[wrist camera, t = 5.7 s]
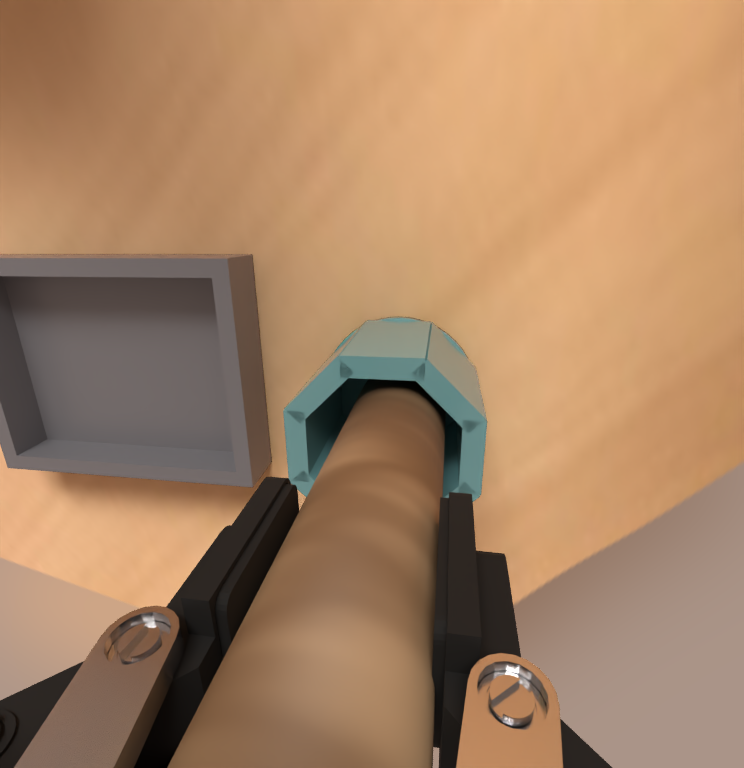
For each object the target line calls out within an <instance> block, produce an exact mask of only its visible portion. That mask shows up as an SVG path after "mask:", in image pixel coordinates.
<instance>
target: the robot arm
mask: <svg viewBox="0 0 744 768" xmlns="http://www.w3.org/2000/svg"><path fill="white" fill-rule="evenodd" d="M298 513H299V504H298V492H297V487H296V485H292V484H291V482H290V480H289V479H288V478H277V477H266V478H265V479H264V480H263V482H262V483H261V485H260V486H259V488H258V489H257V490H256V492H255V493H254V495H253V496H252V497H251V499H250V500H249V502H248V503H247V504H246V506H245V507H244V509H243V510H242V512H241V513H240V514H239V516H238V517H237V519H236V520H235V521H234V523H233V524H232V526H230V525H229V526H227V527H225V528H224V529H223V530H222V531H221V533H220V534H219V535H218V537H217V538H216V539H215V541H214V542H213V544H212V545H211V546H210V548H209V549H208V550H207V552H206V553H205V555H204V556H203V557H202V559H201V560H200V561H199V563H198V564H197V566H196V567H195V568H194V570H193V571H192V572H191V574H190V575H189V577H188V578H187V579H186V581H185V582H184V583H183V585H182V586H181V588H180V589H179V590H178V592H177V593H176V594H175V596H174V597H173V599H172V600H171V601H170V603H169V604H168V605H167V607H161V606H150V607H143V608H140V609H137V610H134V611H132V612H130V613H128V614H126V615H124V616H122V617H121V618H119V619H118V620H117V621H115V622H114V623H113V624H112V625H110V626H109V627H108V628H107V629H106V631H105V632H104V633H103V634H102V635H101V637H100V638H99V640H98V641H97V643H96V644H95V646H94V647H93V649H92V650H91V652H90V653H89V655H88V656H87V658H86V660H85V661H84V662H81V663H79V664H77V665H75V666H73V667H71V668H69V669H66V670H64V671H62V672H60V673H58V674H56V675H54V676H52V677H49V678H47V679H45V680H43V681H41V682H39V683H37V684H34V685H32V686H30V687H28V688H26V689H24V690H22V691H20V692H17V693H15V694H13V695H11V696H9V697H7V698H5V699H3V700H1V701H0V768H167V767H168V765H169V763H170V761H171V759H172V757H173V756H174V754H175V752H176V750H177V748H178V746H179V744H180V742H181V740H182V738H183V736H184V734H185V732H186V730H187V728H188V726H189V724H190V723H191V721H192V719H193V717H194V715H195V713H196V711H197V709H198V707H199V705H200V703H201V701H202V699H203V697H204V695H205V693H206V691H207V690H208V688H209V686H210V684H211V682H212V680H213V678H214V676H215V674H216V672H217V670H218V668H219V666H220V664H221V662H222V660H223V658H224V657H225V655H226V653H227V651H228V649H229V647H230V645H231V643H232V641H233V639H234V637H235V635H236V633H237V631H238V629H239V627H240V625H241V624H242V622H243V620H244V618H245V616H246V614H247V612H248V610H249V608H250V606H251V604H252V602H253V600H254V598H255V596H256V594H257V592H258V591H259V589H260V587H261V585H262V583H263V581H264V579H265V577H266V575H267V573H268V571H269V569H270V567H271V565H272V563H273V561H274V560H275V558H276V556H277V554H278V552H279V550H280V548H281V546H282V544H283V542H284V540H285V538H286V536H287V534H288V532H289V530H290V528H291V527H292V525H293V523H294V521H295V519H296V517H297V515H298ZM432 678H433V682H434V687H435V712H434V739H433V747H437V748H439V768H612V767H611V766H610V765H609V764H608V763H607V762H606V761H604V759H602V758H601V757H600V756H599V755H598V754H597V753H596V752H595V751H594V750H593V749H592V748H591V747H590V746H589V745H588V744H586V743H585V742H584V741H583V740H582V739H581V738H580V737H579V736H578V735H577V734H576V733H575V732H574V731H573V730H572V729H571V728H569V727H568V726H567V725H566V724H565V723H564V722H563V721H562V720H561V719H560V708H559V702H558V698H557V693H556V691H555V689H554V687H553V686H552V684H551V682H550V680H549V679H548V678H547V677H546V675H544V673H543V672H542V671H541V670H540V669H539V668H538V667H536V666H535V665H533V664H532V663H531V662H529V661H528V660H526V659H523V658H521V654H520V648H519V641H518V634H517V628H516V621H515V615H514V608H513V602H512V595H511V588H510V582H509V575H508V569H507V562H506V557H505V555H504V554H502V553H492V552H482V551H476V547H475V532H474V516H473V501H472V494H468V493H456V492H449V498H444V497H440V511H439V532H438V553H437V575H436V596H435V617H434V639H433V660H432Z"/></svg>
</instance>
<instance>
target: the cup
mask: <svg viewBox="0 0 744 768" xmlns="http://www.w3.org/2000/svg"><path fill="white" fill-rule="evenodd" d="M368 379H382V380H406V381H416V382H417V383H418V384H419V385H420V386H421V387H422V388H423V389H424V390H425V391H426V392H427V393H428V394H429V395H430V396H431V397H432V398H433V399H434V400H435V401H436V402H437V403H438V404H439V405H440V406H441V407H442V408H443V409H444V410H445V411H446V418H445V445H444V471H443V497H444V498H449V492H456V493H468V494H472V501H475V500H476V499H477V498H479V497H480V495H481V488H482V476H483V464H484V452H485V440H486V428H487V419H486V414H485V409H484V405H483V400H482V395H481V390H480V385H479V381H478V376H477V371H476V367H475V366H474V365H473V364H472V363H471V362H470V361H469V360H468V357H467V356H466V354H465V352H464V351H463V349H462V348H461V347H460V346H459V344H458V343H457V342H456V341H455V340H454V339H453V338H452V337H451V336H450V335H449V334H447V333H446V332H444V331H443V330H442V329H440V328H438V327H436V326H435V325H434V323H433V322H432V323H431V322H425V321H422V320H419V319H415V318H410V317H388V318H382V319H378V320H368V321H366V322H365V323H364V324H363V325H362V326H361V327H359V328H358V329H356V330H355V331H353V332H352V333H351V334H350V335H348V336H347V337H346V338H345V339H344V340H343V342H342V343H341V344H340V345H339V346H338V347H337V349H336V350H335V352H334V353H333V354H332V355H331V356H330V357H329V358H328V359H327V360H326V361H325V362H324V364H323V365H322V366H321V367H320V368H319V369H318V370H317V372H316V373H315V374H314V375H313V376H312V377H311V378H310V380H309V381H308V382H307V383H306V384H305V385H304V387H303V388H302V389H301V390H300V391H299V392H298V393H297V395H296V396H295V397H294V398H293V399H292V400H291V401H290V403H289V404H288V405H287V406H286V407H285V408H284V411H283V413H284V425H285V437H286V450H287V462H288V475H289V480H290V482H291V484H292V485H296V487H297V489H298V490H299V491H300V492H301V493H302V494H303V495H304V496H306V497H307V495H308V494H309V492H310V490H311V488H312V486H313V484H314V482H315V480H316V478H317V476H318V474H319V472H320V470H321V468H322V466H323V464H324V462H325V461H326V459H327V457H328V455H329V453H330V451H331V449H332V447H333V445H334V443H335V441H336V439H337V437H338V435H339V433H340V431H341V429H342V428H343V426H344V424H345V422H346V420H347V418H348V416H349V414H350V412H351V410H352V408H353V406H354V404H355V402H356V400H357V398H358V396H359V395H360V393H361V391H362V389H363V387H364V385H365V383H366V382H367V380H368Z"/></svg>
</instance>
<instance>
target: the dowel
mask: <svg viewBox="0 0 744 768" xmlns="http://www.w3.org/2000/svg"><path fill="white" fill-rule="evenodd" d="M445 418H446V411H445V410H444V409H443V408H442V407H441V406H440V405H439V404H438V403H437V402H436V401H435V400H434V399H433V398H432V397H431V396H430V395H429V394H428V393H427V392H426V391H425V390H424V389H423V388H422V387H421V386H420V385H419V384H418V383H417V382H416V381H406V380H382V379H368V380H367V382H366V383H365V385H364V387H363V389H362V391H361V393H360V395H359V396H358V398H357V400H356V402H355V404H354V406H353V408H352V410H351V412H350V414H349V416H348V418H347V420H346V422H345V424H344V426H343V428H342V429H341V431H340V433H339V435H338V437H337V439H336V441H335V443H334V445H333V447H332V449H331V451H330V453H329V455H328V457H327V459H326V461H325V462H324V464H323V466H322V468H321V470H320V472H319V474H318V476H317V478H316V480H315V482H314V484H313V486H312V488H311V490H310V492H309V494H308V495H307V497H306V499H305V501H304V503H303V505H302V507H301V509H300V511H299V513H298V515H297V517H296V519H295V521H294V523H293V525H292V527H291V528H290V530H289V532H288V534H287V536H286V538H285V540H284V542H283V544H282V546H281V548H280V550H279V552H278V554H277V556H276V558H275V560H274V561H273V563H272V565H271V567H270V569H269V571H268V573H267V575H266V577H265V579H264V581H263V583H262V585H261V587H260V589H259V591H258V592H257V594H256V596H255V598H254V600H253V602H252V604H251V606H250V608H249V610H248V612H247V614H246V616H245V618H244V620H243V622H242V624H241V625H240V627H239V629H238V631H237V633H236V635H235V637H234V639H233V641H232V643H231V645H230V647H229V649H228V651H227V653H226V655H225V657H224V658H223V660H222V662H221V664H220V666H219V668H218V670H217V672H216V674H215V676H214V678H213V680H212V682H211V684H210V686H209V688H208V690H207V691H206V693H205V695H204V697H203V699H202V701H201V703H200V705H199V707H198V709H197V711H196V713H195V715H194V717H193V719H192V721H191V723H190V724H189V726H188V728H187V730H186V732H185V734H184V736H183V738H182V740H181V742H180V744H179V746H178V748H177V750H176V752H175V754H174V756H173V757H172V759H171V761H170V763H169V765H168V767H167V768H432V766H433V739H434V712H435V687H434V682H433V678H432V660H433V639H434V617H435V596H436V575H437V553H438V532H439V511H440V497H443V471H444V445H445Z"/></svg>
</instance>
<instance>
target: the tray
mask: <svg viewBox="0 0 744 768" xmlns="http://www.w3.org/2000/svg"><path fill="white" fill-rule="evenodd" d="M0 444H1V448H2V451H3V454H4V457H5V460H6V463H7V467H8V468H15V469H28V470H41V471H53V472H66V473H78V474H91V475H104V476H116V477H129V478H141V479H154V480H166V481H179V482H192V483H204V484H217V485H229V486H242V487H254V485H255V484H256V482H257V481H258V480H259V478H260V477H261V476H262V474H263V473H264V471H265V470H266V469H267V467H268V466H269V465H270V463H271V462H272V461H271V450H270V439H269V429H268V418H267V407H266V397H265V386H264V375H263V365H262V354H261V343H260V333H259V322H258V311H257V301H256V290H255V280H254V269H253V258H252V255H162V254H0Z"/></svg>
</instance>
